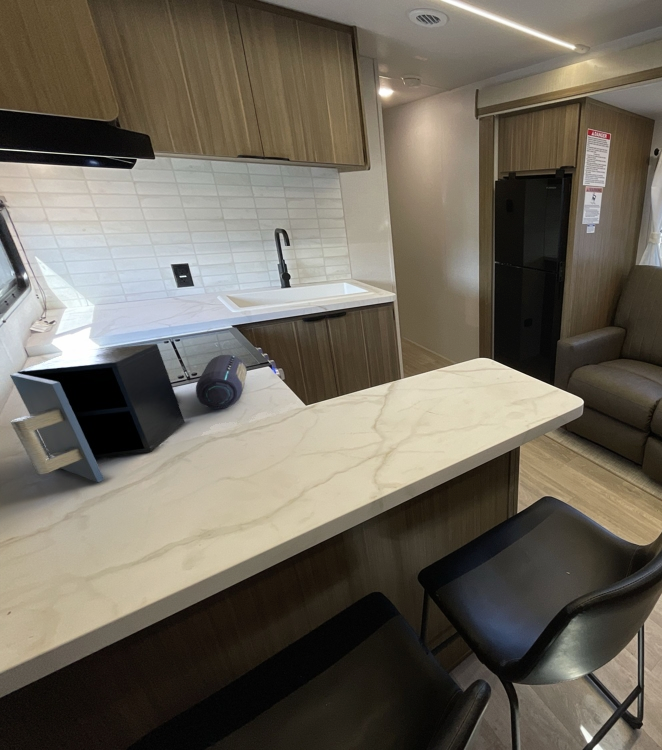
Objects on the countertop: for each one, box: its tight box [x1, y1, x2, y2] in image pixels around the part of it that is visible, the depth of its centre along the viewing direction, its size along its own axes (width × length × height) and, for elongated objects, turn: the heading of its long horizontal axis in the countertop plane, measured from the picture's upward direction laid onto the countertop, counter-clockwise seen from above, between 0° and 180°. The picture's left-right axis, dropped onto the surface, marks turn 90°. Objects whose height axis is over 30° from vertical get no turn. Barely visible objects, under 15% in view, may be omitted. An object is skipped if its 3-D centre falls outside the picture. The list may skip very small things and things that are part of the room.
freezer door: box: [10, 372, 105, 483], centre depth 72 cm, size 7×16×20 cm, turn 67°
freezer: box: [16, 343, 186, 460], centre depth 86 cm, size 14×16×20 cm
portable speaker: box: [195, 354, 248, 410], centre depth 111 cm, size 25×10×10 cm, turn 27°
